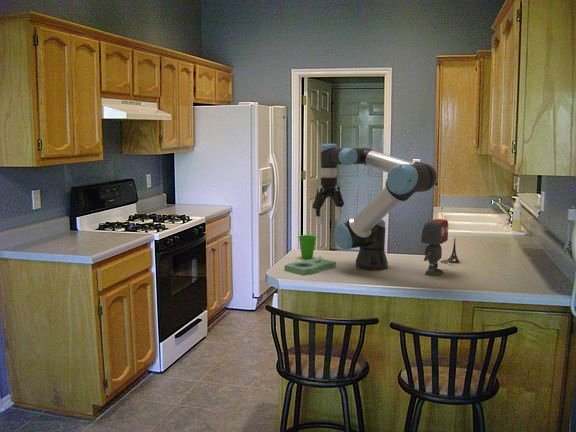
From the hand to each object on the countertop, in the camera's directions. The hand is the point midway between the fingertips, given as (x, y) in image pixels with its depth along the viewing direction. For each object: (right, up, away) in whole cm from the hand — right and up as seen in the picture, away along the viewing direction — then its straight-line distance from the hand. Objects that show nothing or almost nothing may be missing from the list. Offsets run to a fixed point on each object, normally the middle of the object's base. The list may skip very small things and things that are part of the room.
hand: (328, 221), depth 268 cm
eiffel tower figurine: (+62, -21, +10) cm, 66 cm away
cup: (-10, -19, +15) cm, 26 cm away
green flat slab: (-9, -22, -6) cm, 24 cm away
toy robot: (+46, -23, -13) cm, 53 cm away
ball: (-5, -17, -3) cm, 18 cm away
